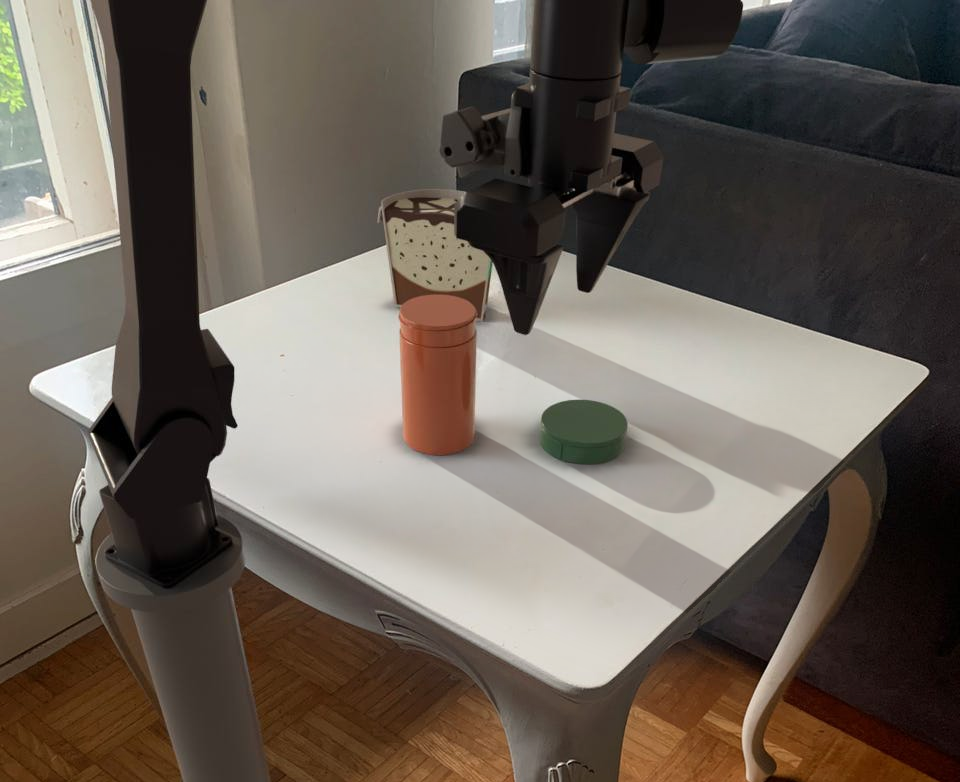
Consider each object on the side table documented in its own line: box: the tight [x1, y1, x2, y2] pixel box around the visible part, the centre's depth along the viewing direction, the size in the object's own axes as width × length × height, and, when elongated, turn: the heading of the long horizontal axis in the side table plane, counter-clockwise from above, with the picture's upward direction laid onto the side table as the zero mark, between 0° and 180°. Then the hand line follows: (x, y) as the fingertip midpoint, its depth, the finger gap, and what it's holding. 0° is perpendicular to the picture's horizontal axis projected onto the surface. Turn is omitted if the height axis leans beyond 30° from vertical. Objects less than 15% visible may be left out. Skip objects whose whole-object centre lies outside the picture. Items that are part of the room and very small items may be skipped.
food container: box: [376, 188, 493, 322], centre depth 93 cm, size 12×6×10 cm, turn 71°
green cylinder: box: [539, 399, 628, 465], centre depth 76 cm, size 7×7×2 cm
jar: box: [397, 295, 478, 456], centre depth 73 cm, size 6×6×11 cm
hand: (554, 311), depth 70 cm, fingers open, 9 cm apart
